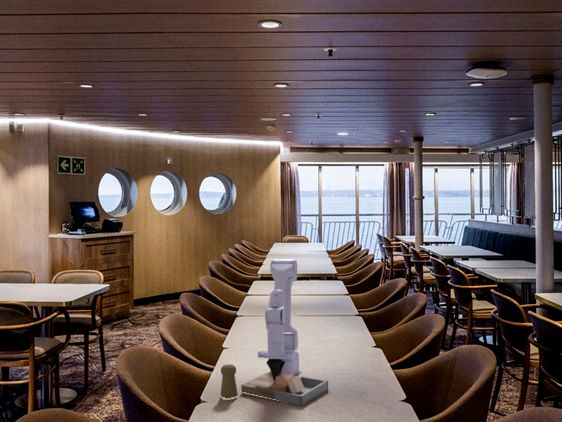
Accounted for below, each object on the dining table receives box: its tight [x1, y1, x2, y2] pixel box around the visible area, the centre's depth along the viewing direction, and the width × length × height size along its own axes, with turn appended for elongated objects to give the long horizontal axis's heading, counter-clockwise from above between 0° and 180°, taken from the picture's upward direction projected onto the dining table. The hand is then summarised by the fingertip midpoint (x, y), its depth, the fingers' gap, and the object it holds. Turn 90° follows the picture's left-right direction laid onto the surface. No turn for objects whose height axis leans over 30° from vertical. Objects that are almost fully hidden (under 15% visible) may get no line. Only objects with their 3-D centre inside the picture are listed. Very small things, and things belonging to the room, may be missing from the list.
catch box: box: [275, 376, 329, 407], centre depth 189 cm, size 18×10×3 cm, turn 147°
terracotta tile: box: [276, 373, 295, 386], centre depth 193 cm, size 4×4×2 cm
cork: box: [220, 363, 239, 398], centre depth 189 cm, size 6×6×11 cm
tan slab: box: [240, 370, 302, 399], centre depth 196 cm, size 18×14×3 cm
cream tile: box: [287, 375, 304, 394], centre depth 191 cm, size 4×4×2 cm
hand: (276, 380), depth 195 cm, fingers closed
